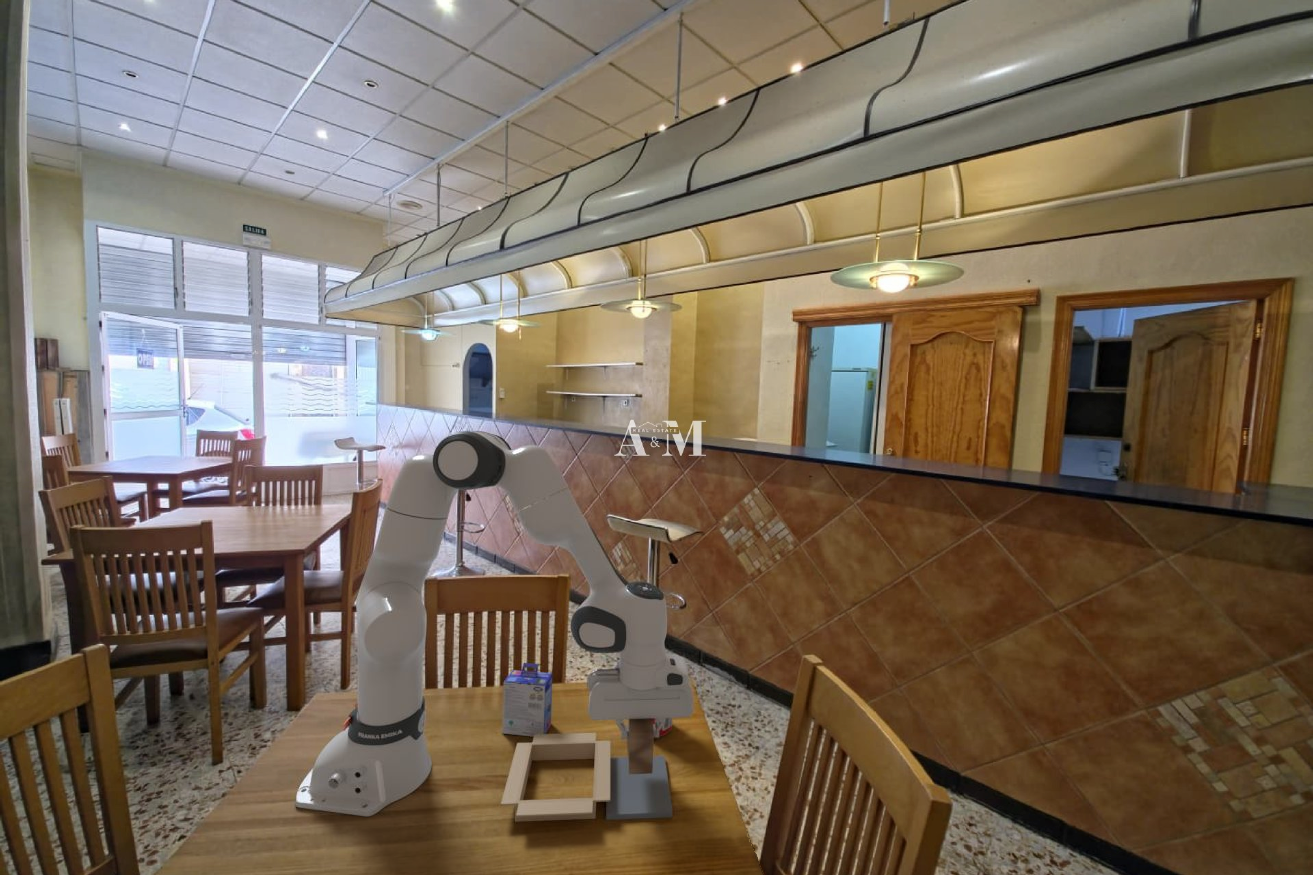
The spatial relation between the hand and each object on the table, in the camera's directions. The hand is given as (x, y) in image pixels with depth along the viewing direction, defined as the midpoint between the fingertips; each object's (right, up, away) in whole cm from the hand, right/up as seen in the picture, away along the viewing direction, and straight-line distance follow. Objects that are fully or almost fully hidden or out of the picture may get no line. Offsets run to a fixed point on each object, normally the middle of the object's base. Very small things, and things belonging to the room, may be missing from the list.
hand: (639, 736), depth 95 cm
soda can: (+3, -9, +18) cm, 20 cm away
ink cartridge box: (-26, -8, +16) cm, 32 cm away
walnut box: (0, -4, 0) cm, 4 cm away
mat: (0, -10, +1) cm, 10 cm away
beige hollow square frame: (-15, -10, 0) cm, 18 cm away
